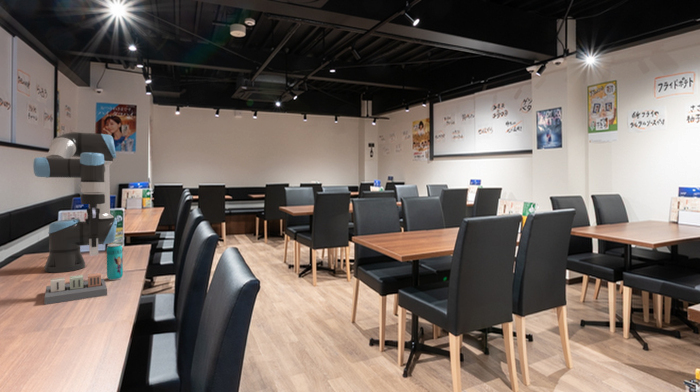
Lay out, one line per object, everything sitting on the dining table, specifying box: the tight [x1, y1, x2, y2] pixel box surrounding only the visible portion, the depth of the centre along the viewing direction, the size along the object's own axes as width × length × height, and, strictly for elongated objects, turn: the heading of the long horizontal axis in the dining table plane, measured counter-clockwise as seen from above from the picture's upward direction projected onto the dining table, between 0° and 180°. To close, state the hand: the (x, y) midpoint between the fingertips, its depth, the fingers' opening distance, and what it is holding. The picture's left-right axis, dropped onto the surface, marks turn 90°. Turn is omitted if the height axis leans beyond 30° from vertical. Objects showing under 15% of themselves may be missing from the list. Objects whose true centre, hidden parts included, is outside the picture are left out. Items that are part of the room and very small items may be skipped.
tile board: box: [43, 278, 108, 305], centre depth 138 cm, size 16×18×2 cm
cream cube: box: [50, 276, 66, 292], centre depth 134 cm, size 4×4×4 cm
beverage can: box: [106, 243, 124, 282], centre depth 158 cm, size 6×6×15 cm
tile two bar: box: [69, 274, 84, 290], centre depth 138 cm, size 4×4×4 cm
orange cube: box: [87, 272, 102, 287], centre depth 141 cm, size 4×4×4 cm
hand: (93, 255), depth 141 cm, fingers closed
